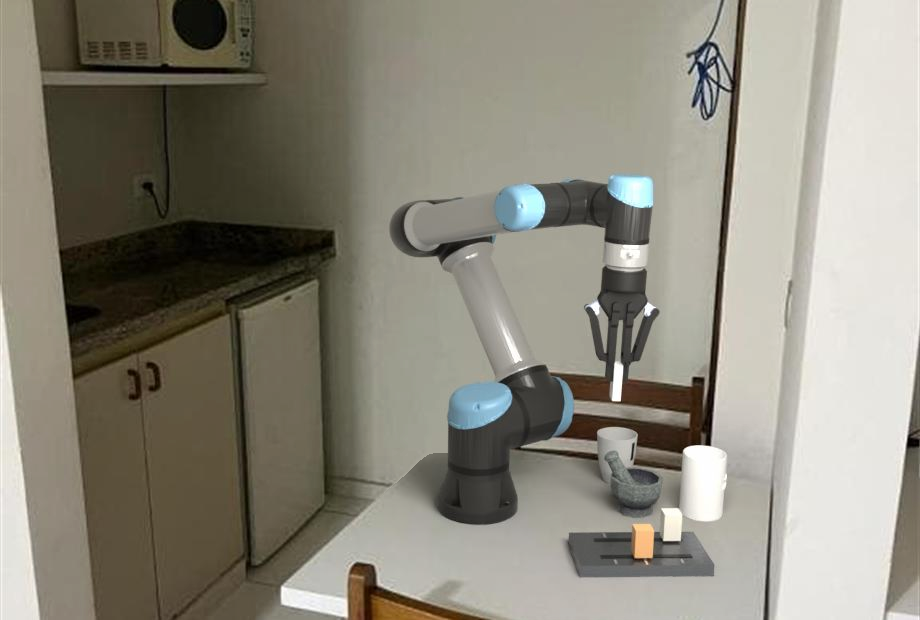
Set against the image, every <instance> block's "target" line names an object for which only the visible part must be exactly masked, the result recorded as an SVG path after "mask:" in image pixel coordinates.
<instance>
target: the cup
mask: <svg viewBox="0 0 920 620" xmlns="http://www.w3.org/2000/svg"><path fill="white" fill-rule="evenodd" d="M596 431H597V432H596V434H597V435H596V437H597V438H596V439H597V458H598V464H599V470H600V473H601V477H602V480H603V482H605V483H607V484H610V482H611V475H612V470H611V468H610V466H609V464H608V462H607V461H605V459H604V457H605V455H606V454H607V453H608V452H610V451H614V450H615V451H617V452H618V453H619V458H620V459H621V461H622V463H623V464H624V466H625V467H626V468H634V463H635V462H634V461H635V458H636V454H637V453H636V452H637V445H638V444H637V443H638V436H639V435H638V433H637V432H636V431H634V430H633V429H630V428H626V427H622V426H621V427H620V426H609V427H603V428H600V429H598V430H596ZM610 485H611V484H610Z"/></svg>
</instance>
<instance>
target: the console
mask: <svg viewBox="0 0 920 620" xmlns="http://www.w3.org/2000/svg"><path fill="white" fill-rule="evenodd" d="M631 541H632V531H625V532H624V531H609V532H608V531H605V532H603V531H601V532H597V531H596V532H590V531H589V532H588V531H587V532H581V531H580V532H568V546H569V550H570V551H571V555H572V558H573V560H574V565H575V567H576V571H577V572H578V576H579V577H580V578H627V577H628V578H635V577H637V578H640V577H641V578H642V577H646V578H648V577H649V578H650V577H656V578H657V577H714V574H715V563H714V562H713V560H712V559H711V558H710V556H709V554H708V552H707V551H706V549H705V548H704V545H703V544H702V542H701V541H700V540H699V538H698V536H697V535H696V533H695V532H694V531H681V541H663V540H662V538H661V536H660V531H654V543H653V558H634V556H633V554H632V552H631Z"/></svg>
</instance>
